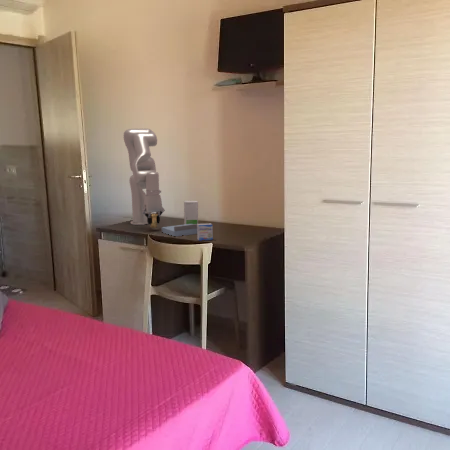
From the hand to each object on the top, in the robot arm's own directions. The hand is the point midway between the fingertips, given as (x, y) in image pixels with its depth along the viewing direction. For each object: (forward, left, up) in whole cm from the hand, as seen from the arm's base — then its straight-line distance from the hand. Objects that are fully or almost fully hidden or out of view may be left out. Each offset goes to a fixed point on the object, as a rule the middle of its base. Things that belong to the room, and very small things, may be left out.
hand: (153, 223), depth 307 cm
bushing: (0, 0, -2) cm, 2 cm away
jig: (+15, +12, -5) cm, 20 cm away
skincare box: (-1, +26, -5) cm, 26 cm away
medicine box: (+40, +12, -5) cm, 42 cm away
